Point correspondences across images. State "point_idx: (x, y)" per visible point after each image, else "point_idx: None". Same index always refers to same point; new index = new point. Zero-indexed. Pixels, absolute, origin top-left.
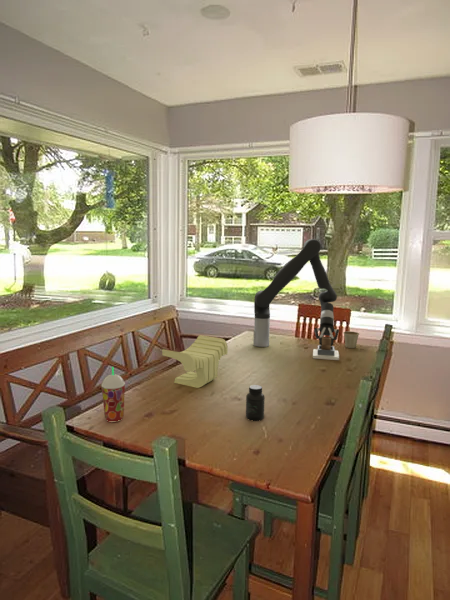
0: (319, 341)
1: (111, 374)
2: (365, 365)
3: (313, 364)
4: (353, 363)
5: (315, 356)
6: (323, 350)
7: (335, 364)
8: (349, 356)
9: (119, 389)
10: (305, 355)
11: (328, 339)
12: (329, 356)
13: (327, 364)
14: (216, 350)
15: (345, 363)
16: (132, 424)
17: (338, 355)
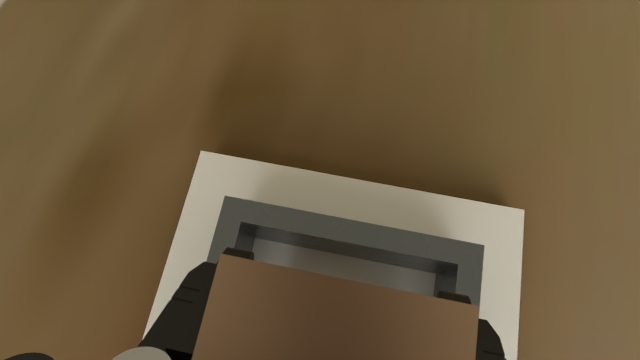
0: (498, 356)
1: None
2: (8, 17)
3: (511, 15)
4: (97, 66)
5: (486, 206)
6: (391, 228)
7: (291, 27)
8: (14, 330)
9: None
10: (603, 345)
11: (293, 272)
12: (311, 185)
13: (371, 23)
14: None
15: (179, 61)
16: None
17: (178, 237)
